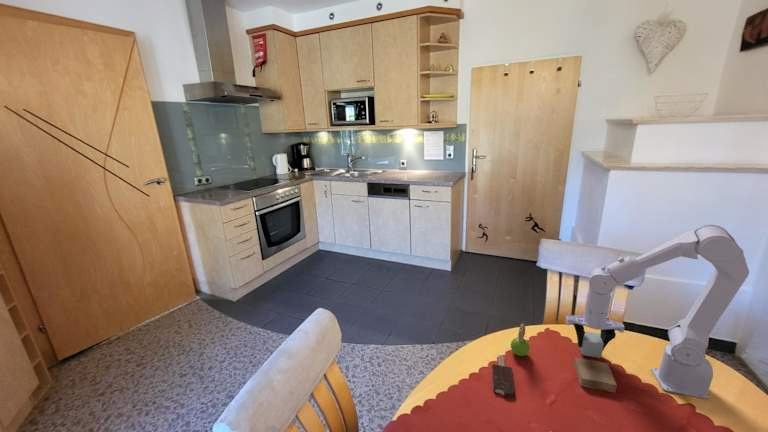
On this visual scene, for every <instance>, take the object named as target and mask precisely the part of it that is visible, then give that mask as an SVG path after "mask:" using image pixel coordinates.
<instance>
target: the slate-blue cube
mask: <svg viewBox="0 0 768 432" xmlns="http://www.w3.org/2000/svg"><path fill="white" fill-rule="evenodd" d="M584 331H585V334H584V337H583V342H582V347H579V346H578V348H579V350H580V353H581V356H587V357H593V358H599V359H602V357H603V356H602V355H603V352H604V350H603V346H604V343H603V341H602V339H601V337H600V334H601V333H598V332H591V331H586V330H584Z"/></svg>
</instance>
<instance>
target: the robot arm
mask: <svg viewBox="0 0 768 432" xmlns="http://www.w3.org/2000/svg"><path fill="white" fill-rule="evenodd" d="M699 255H700V257H702V258H703V259H705V260H706V261H707V262H709V263H710V264H712V266H713V267H714V270H713V272H712V274H711V275H710V277H709V279H708V280H707V281H706V284H705V285H704V287H703V289H702V290H701V292H700V293H699V295H698V297H697V298H696V300H695V302H694V303H693V305H692V306H691V308H690V310H689V311H688V313H687V315H686V316H685V318H681V319H680V320H678V321H679V322H678V323H676V324H675V325H673V326H671V327H670V328H669V329H668V331H667V335H668V339H669V343H668V344H667V345H666V346H665V347H664V351H663V354H662V358H661V362H660V365H659V368H655V367H651V369H650V370H651V372H652V374H653V375H654V376H655V377H654V378H656V380H657V382H658V383H659V385H660V387H661V389H662V390H663V391H665V392H669V393H675V394H681V395H685V396H690V397H697V398H702V399H707V400H708V399H709V397H710V396H709V395H708V393H709V390H710V387H711V384H712V382H713V378H714V370H713V366H712V364H711V362H710V360H709V359H707V357H706V350H707V349H708V347H709V340H710V339H709V338H710V335H711V333H712V331H713V329H714V327H715V326H716V325H717V324H718V322H719V320H720V319H721V317H723V314H724V313H725V312H726V310H727V308H728V307H729V305H730V304H731V302H732V300H733V299H734V298H735V296H736V295H737V293H738V292H739V291H740V288H741V287H742V285H744V283H745V282H746V279H748V277H749V275H750V269H749V267H748V263H747V261H746V257H745V253H744V250H743V248H742V247H740V246H739V244H738V243H737V241H736V240H735V238H734V237H733V236H732V235H731V234H730V233H729V232H728V231H727V230H726V228H724V227H723V226H720V225H716V224H703V225H701V226H699V227H697V228H696V229H695V230H694V229H692V230H688V231H686V232H684V233H682V234H680V235H679V236H677V237H675V238H673V239H672V240H669V241H668V242H666V243H664V244H661V245H660V246H659V245H658V246H657V247H655V248H654V249H651V250H649V251H647V252H645V253H643V254H642V255H640V256H638V257H637V256H631V255H628V256H625V257H624V256H620V257H618V258H617V261H615V262H612V263H610V264H608V265H603V266H601V267H597V268H594V269H593V270H592V271H591V272H590V273H589V280H588V285H589V286H588V287H587V288H588V289H587V293H586V300H585V305H584V312H583V315H566V316H565V323H566V325H568V326H570V325H573V327H574V330H575V333H576V337H577V346H578V348H579V347H582V342H583V337H584V334H585V331H586V330H585V327H586V328H590V329H593V330H598V331H600V333H599V334H600V337H601V339H602V341H603V343H604V346H603V351H604V349H605V348H606V347H607V345H608V344H609V343H610V342H611V341H612V340H614V339H615V338H616V331H618V332H619V333H624V332H625V328H626V327H625V325H624V324H623V323H622V322H620V321H619V322H618V321H614V320H610V319H608V316H609V311H610V306H611V300H612V295H611V293H612V292H613V291H614V289H615V287H617V286H621V285H623V284H626V283H628V282H630V281H633V280H635V279H639V278H641V277H643V276H644V275H645V271H646V270H647V269H649V268H652V267H655V266H658V265H661V264H663V263H665V262H669V261H672V260H674V259H678V258H680V257H683V258H688V259H692V260H699Z"/></svg>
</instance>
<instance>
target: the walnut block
mask: <svg viewBox="0 0 768 432" xmlns="http://www.w3.org/2000/svg"><path fill="white" fill-rule="evenodd" d="M574 369H575V372H576V375H577V379H578V382H579V385H580V387H583V388H588V389H589V388H590V389H594V390H599V391H604V392H609V393H614V394H615V393H616V389H617V381H616V380H615V377H614V375H613V373H612V371H611V369H610V365H609V364H608V363H607V362H602V361H596V360H589V359H584V358H580V357H575V358H574Z"/></svg>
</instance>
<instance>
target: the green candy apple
mask: <svg viewBox="0 0 768 432" xmlns="http://www.w3.org/2000/svg"><path fill="white" fill-rule="evenodd" d="M518 328H519V329H518V335H517V337H515V338H513V339H512V340H511V342H510V349H511V351H512V352H513V354H514V355H516V356H519V357H525V356H527V355H528V354H529V353H530V350H531V346H530V344H529V341H528V340H527V339H525V334H526V325H525V323H521V324H520V326H519V327H518Z"/></svg>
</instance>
